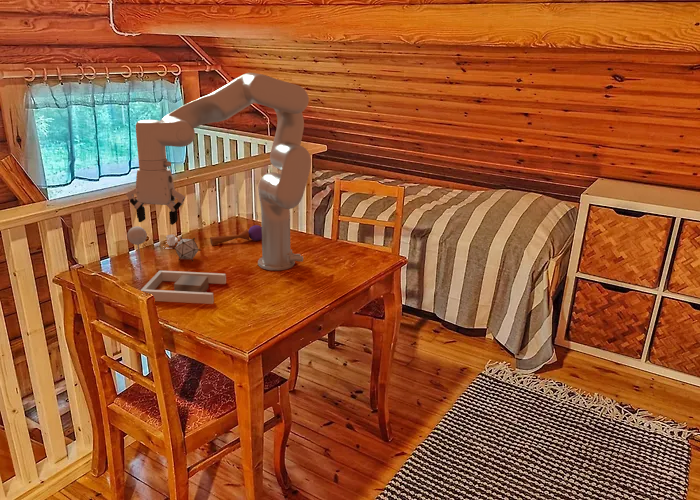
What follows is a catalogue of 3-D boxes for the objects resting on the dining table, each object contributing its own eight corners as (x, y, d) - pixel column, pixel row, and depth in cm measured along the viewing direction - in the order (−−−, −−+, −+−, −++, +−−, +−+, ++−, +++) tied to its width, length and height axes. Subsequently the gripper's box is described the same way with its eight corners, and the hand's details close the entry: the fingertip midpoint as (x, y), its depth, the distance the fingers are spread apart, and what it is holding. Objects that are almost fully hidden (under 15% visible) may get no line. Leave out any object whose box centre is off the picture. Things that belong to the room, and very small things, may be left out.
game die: (188, 271, 196) (179, 256, 187) (173, 257, 199) (164, 242, 191) (208, 255, 199) (200, 239, 191) (193, 242, 202) (185, 226, 194)
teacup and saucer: (171, 240, 215) (170, 230, 213) (188, 243, 212) (187, 233, 210) (155, 247, 207) (154, 237, 206) (172, 251, 204) (172, 240, 203)
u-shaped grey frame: (226, 282, 179) (225, 273, 178) (212, 303, 165) (212, 294, 164) (160, 279, 180) (159, 270, 179) (140, 300, 166) (139, 290, 165)
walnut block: (208, 288, 176) (207, 276, 174) (201, 298, 169) (200, 285, 168) (183, 286, 176) (182, 274, 175) (175, 296, 170) (173, 284, 168)
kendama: (208, 232, 212) (260, 223, 219) (211, 248, 213) (263, 238, 221) (211, 234, 207) (264, 224, 214) (214, 250, 208) (267, 240, 215)
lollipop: (127, 269, 186) (122, 226, 181) (144, 265, 190) (139, 222, 185) (137, 275, 182) (132, 231, 177) (153, 270, 187) (149, 227, 181)
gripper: (187, 163, 164) (190, 220, 170) (130, 160, 165) (135, 216, 171) (176, 169, 157) (181, 228, 163) (117, 165, 158) (123, 223, 164)
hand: (157, 222), depth 167 cm, fingers open, 9 cm apart
